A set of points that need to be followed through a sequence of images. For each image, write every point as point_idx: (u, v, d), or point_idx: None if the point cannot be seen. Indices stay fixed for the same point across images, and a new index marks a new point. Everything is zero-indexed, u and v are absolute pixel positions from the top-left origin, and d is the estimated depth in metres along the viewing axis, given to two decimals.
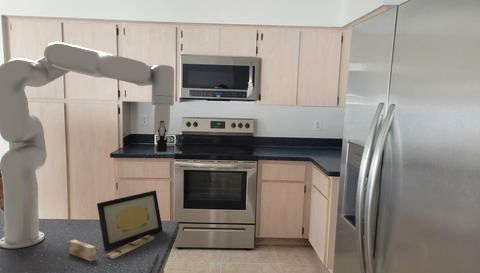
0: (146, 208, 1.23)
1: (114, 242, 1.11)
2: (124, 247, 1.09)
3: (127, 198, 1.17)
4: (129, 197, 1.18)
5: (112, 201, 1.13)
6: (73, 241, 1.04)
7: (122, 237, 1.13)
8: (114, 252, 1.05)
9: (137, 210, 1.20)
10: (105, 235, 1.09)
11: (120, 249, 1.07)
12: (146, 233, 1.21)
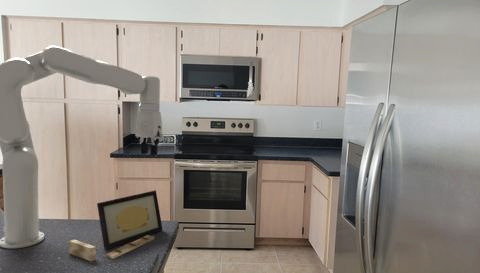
0: (146, 208, 1.23)
1: (114, 242, 1.11)
2: (124, 247, 1.09)
3: (127, 198, 1.17)
4: (129, 197, 1.18)
5: (112, 201, 1.13)
6: (73, 241, 1.04)
7: (122, 237, 1.13)
8: (114, 252, 1.05)
9: (137, 210, 1.20)
10: (105, 235, 1.09)
11: (120, 249, 1.07)
12: (146, 233, 1.21)
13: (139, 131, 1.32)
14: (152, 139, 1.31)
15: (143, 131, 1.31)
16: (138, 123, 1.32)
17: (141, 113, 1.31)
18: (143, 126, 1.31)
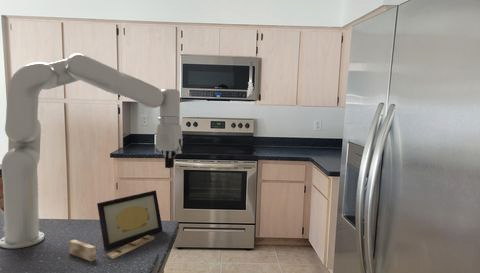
0: (146, 208, 1.23)
1: (114, 242, 1.11)
2: (124, 247, 1.09)
3: (127, 198, 1.17)
4: (129, 197, 1.18)
5: (112, 201, 1.13)
6: (73, 241, 1.04)
7: (122, 237, 1.13)
8: (114, 252, 1.05)
9: (137, 210, 1.20)
10: (105, 235, 1.09)
11: (120, 249, 1.07)
12: (146, 233, 1.21)
13: (159, 144, 1.30)
14: (170, 152, 1.30)
15: (163, 144, 1.29)
16: (158, 136, 1.30)
17: (161, 126, 1.29)
18: (164, 139, 1.29)
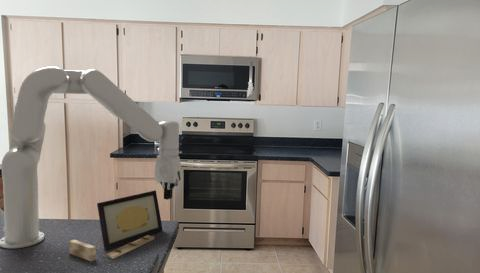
0: (146, 208, 1.23)
1: (114, 242, 1.11)
2: (124, 247, 1.09)
3: (127, 198, 1.17)
4: (129, 197, 1.18)
5: (112, 201, 1.13)
6: (73, 241, 1.04)
7: (122, 237, 1.13)
8: (114, 252, 1.05)
9: (137, 210, 1.20)
10: (105, 235, 1.09)
11: (120, 249, 1.07)
12: (146, 233, 1.21)
13: (158, 176, 1.31)
14: (168, 184, 1.31)
15: (162, 176, 1.30)
16: (157, 168, 1.31)
17: (160, 158, 1.30)
18: (163, 171, 1.30)
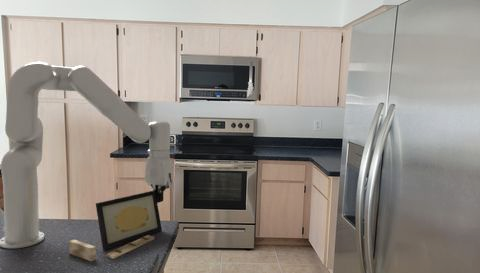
0: (145, 208, 1.22)
1: (113, 242, 1.10)
2: (124, 247, 1.09)
3: (126, 198, 1.17)
4: (128, 197, 1.18)
5: (111, 201, 1.12)
6: (73, 241, 1.04)
7: (121, 237, 1.13)
8: (114, 252, 1.05)
9: (136, 210, 1.19)
10: (104, 235, 1.08)
11: (120, 249, 1.07)
12: (145, 233, 1.20)
13: (148, 178, 1.26)
14: (159, 186, 1.26)
15: (152, 178, 1.25)
16: (147, 170, 1.27)
17: (151, 160, 1.26)
18: (153, 173, 1.25)
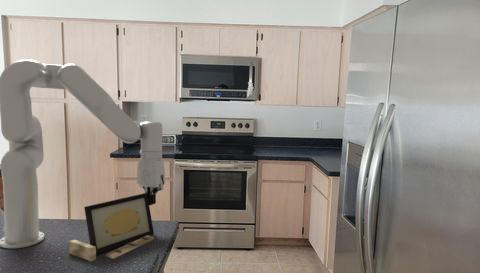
0: (136, 211, 1.18)
1: (102, 247, 1.06)
2: (124, 247, 1.09)
3: (116, 201, 1.13)
4: (118, 200, 1.14)
5: (100, 204, 1.08)
6: (73, 241, 1.04)
7: (111, 242, 1.09)
8: (114, 252, 1.05)
9: (127, 213, 1.15)
10: (93, 240, 1.04)
11: (120, 249, 1.07)
12: (137, 237, 1.16)
13: (140, 180, 1.23)
14: (151, 188, 1.22)
15: (144, 180, 1.22)
16: (139, 171, 1.23)
17: (142, 161, 1.22)
18: (145, 175, 1.21)
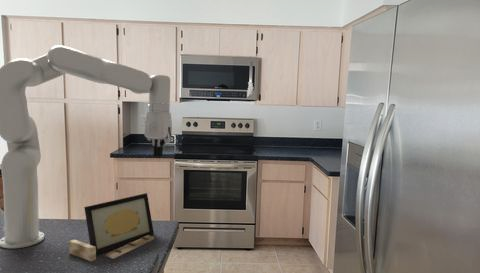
0: (136, 212, 1.19)
1: (102, 247, 1.06)
2: (124, 247, 1.09)
3: (116, 201, 1.13)
4: (119, 200, 1.14)
5: (100, 205, 1.08)
6: (73, 241, 1.04)
7: (111, 242, 1.09)
8: (114, 252, 1.05)
9: (127, 214, 1.16)
10: (93, 240, 1.04)
11: (120, 249, 1.07)
12: (137, 238, 1.16)
13: (148, 132, 1.26)
14: (159, 140, 1.26)
15: (152, 132, 1.25)
16: (147, 124, 1.26)
17: (150, 113, 1.25)
18: (153, 127, 1.25)
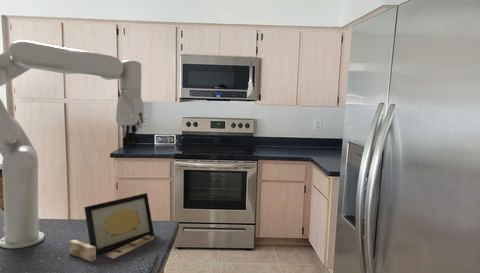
0: (136, 212, 1.19)
1: (102, 247, 1.06)
2: (124, 247, 1.09)
3: (116, 201, 1.13)
4: (119, 200, 1.14)
5: (100, 205, 1.08)
6: (73, 241, 1.04)
7: (111, 242, 1.09)
8: (114, 252, 1.05)
9: (127, 214, 1.16)
10: (93, 240, 1.04)
11: (120, 249, 1.07)
12: (137, 238, 1.16)
13: (119, 118, 1.25)
14: (130, 127, 1.25)
15: (123, 118, 1.24)
16: (118, 110, 1.26)
17: (121, 99, 1.25)
18: (124, 113, 1.24)
